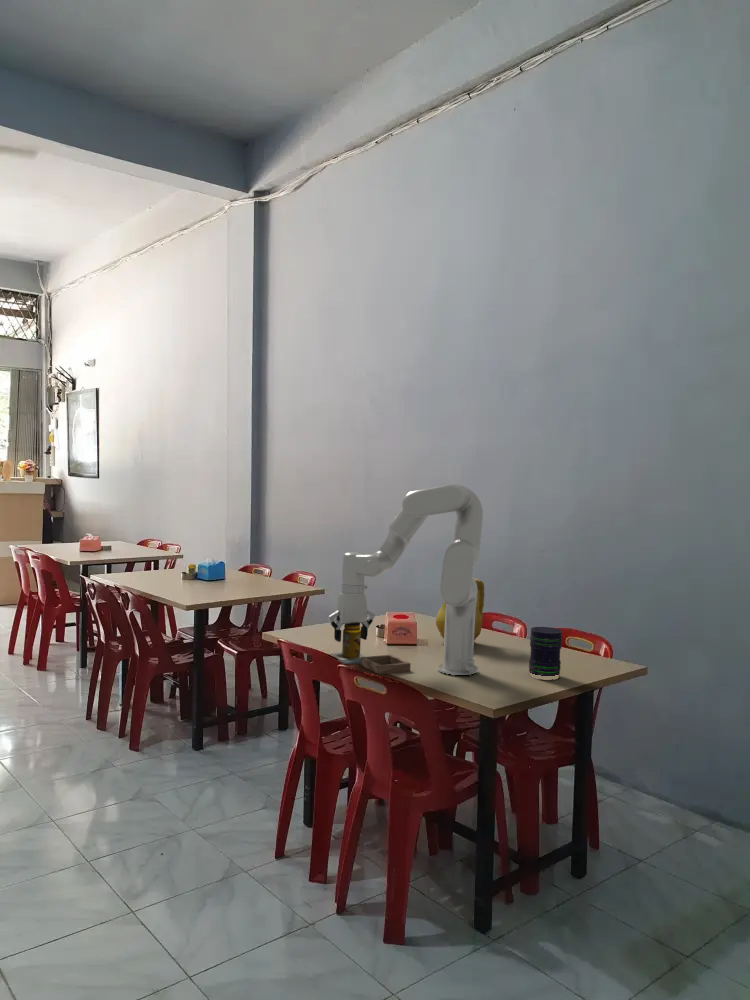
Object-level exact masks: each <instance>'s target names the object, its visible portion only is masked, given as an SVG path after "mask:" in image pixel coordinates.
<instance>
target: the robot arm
mask: <svg viewBox="0 0 750 1000" xmlns="http://www.w3.org/2000/svg"><path fill="white" fill-rule="evenodd" d="M401 505H402V507H401V508H400V510H398V512H397V514H396V515H395V517H394V518H393V519H392V520H391V522H390V523H389V525H388V534H387V537H386V538H385V540H384V542H383V543H382V544H381V545H380V547H379V548H378V549H377V551H376V552H374V553H370V554H364V553H361V552H357V551H355V552H354V551H351V552H350V551H349V552H345V553H343V556H342V568H341V569H342V571H341V574H342V575H341V592H339V593H338V596H337V600H336V605H335V606H336V607H335V611H334V612H333V613H331V614H330V615H328V616H327V619H328V621H329V624H330V625H331V627H332V628H333V629H334V632H333V633H334V635H333V636H334V640H335V641H336V642H338V643H341V642H342V630H341V628H342V627H343V625H345V624H349V623H358V622H359V623H360V630H361V640H364V641H366V640H368V631H369V630H368V628H370V626H371V625H372V623H373V621H374V619H375V618H376V617H375V616H376V614H375V613H373V612H371V611H370V610H368V603H367V602H368V601H367V596H366V593H365V590H367V589H368V585H367V584H365V576H366V577H369V578H376V577H379V576H382V575H383V574H387V573H388V572H389V571H390V570H391V569H392V568H393V566H394V565H395V564H396V562H397V561H398V560H399V559H400V557H401V556H402V554H403V553H404V552H405V550H406V549H407V547H408V545H409V544H410V542H411V540H412V538H413V537H414V535H416V533H417V531H419V529H420V528H421V526H422V525H423V524H424V522H425V521H426V520H427V519H428V517H429V516H434V515H439V514H447V513H452V512H453V513H454V512H455V513H456V521H455V525H454V534H453V540H452V543H451V544H450V545H449V546H448V547H447V548H446V550H445V552H444V555H443V561H442V568H441V570H442V571H441V575H440V576H441V577H440V588H439V593H440V597H441V599H442V601H443V602H445V603H446V612H445V631H444V639H443V642H444V645H443V654H442V655H443V659H442V660H443V661H442V664H439V665H438V666H437V670H438V672H440V673H441V672H442V674H444V673H446V675H448V674H451V675H450V676H455V675H470V674H474V673H476V672H477V673H478V669H479V667H478V666H477V665H475V659H474V648H475V647H474V645H475V644H474V642H475V641H474V627H475V610H476V601H477V584H476V582H475V580H474V578H475V577H473V572H474V567H475V566H476V565H477V564H478V562H479V560H480V548H481V542H482V541H481V539H482V527H483V519H484V517H483V516H484V513H483V512H484V511H483V507H482V503H481V501H480V499H479V497H478V496H477V494H476V493H475V492H474V491H472V490H471V489H470V488H468V487H467V486H464V485H462V484H445V485H441V486H435V487H429V488H425V489H417V490H416V489H415V490H411V491H409V492H408V493H407V494H405V495H404V497H403V499H402V503H401ZM477 673H476V674H477ZM474 675H475V674H474ZM470 676H471V675H470Z"/></svg>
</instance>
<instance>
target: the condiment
mask: <svg viewBox="0 0 750 1000" xmlns="http://www.w3.org/2000/svg"><path fill="white" fill-rule="evenodd" d="M343 625H344V628H343V630H342V647H341V648H342V651H341V653H342V654H334V656H335V657H337V658H339V659H341V660H347V659H361V656H359V655H360V654H361V640H362V638H361V623H359V622H358V623H349V624H343Z"/></svg>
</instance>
